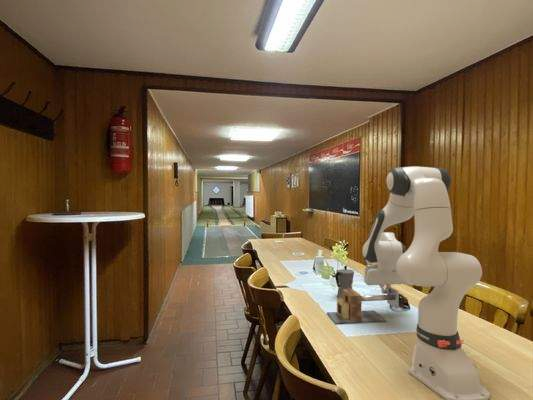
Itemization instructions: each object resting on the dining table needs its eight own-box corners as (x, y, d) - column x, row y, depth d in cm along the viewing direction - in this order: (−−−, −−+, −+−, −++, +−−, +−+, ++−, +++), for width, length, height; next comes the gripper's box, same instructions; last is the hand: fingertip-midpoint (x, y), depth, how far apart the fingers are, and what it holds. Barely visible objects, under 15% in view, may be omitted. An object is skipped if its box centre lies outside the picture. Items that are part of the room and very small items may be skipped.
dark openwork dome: (414, 312, 152) (408, 299, 150) (396, 319, 153) (390, 306, 152) (405, 298, 164) (399, 286, 162) (388, 305, 165) (382, 293, 163)
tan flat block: (342, 313, 146) (342, 298, 146) (348, 319, 139) (349, 303, 139) (336, 313, 146) (336, 298, 146) (342, 320, 139) (342, 303, 138)
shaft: (389, 302, 150) (389, 286, 149) (398, 308, 142) (398, 291, 142) (351, 304, 147) (351, 287, 147) (358, 310, 139) (358, 293, 139)
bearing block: (373, 311, 151) (374, 287, 151) (386, 321, 139) (386, 295, 139) (326, 314, 148) (326, 289, 148) (335, 324, 136) (335, 297, 136)
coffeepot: (345, 293, 179) (345, 262, 179) (359, 297, 172) (359, 265, 172) (328, 299, 169) (328, 266, 169) (342, 303, 162) (342, 269, 162)
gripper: (367, 266, 143) (367, 296, 143) (408, 265, 146) (408, 294, 146) (361, 263, 149) (361, 292, 150) (400, 263, 152) (400, 290, 152)
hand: (384, 293), depth 148 cm, fingers closed
